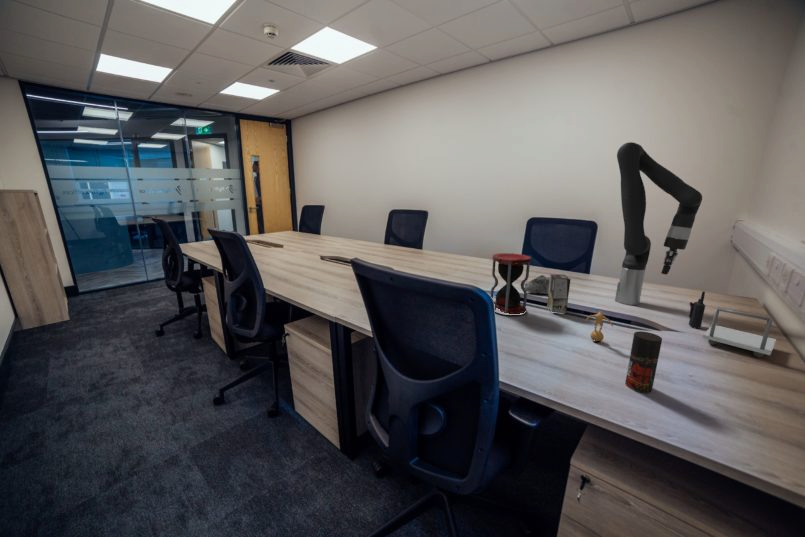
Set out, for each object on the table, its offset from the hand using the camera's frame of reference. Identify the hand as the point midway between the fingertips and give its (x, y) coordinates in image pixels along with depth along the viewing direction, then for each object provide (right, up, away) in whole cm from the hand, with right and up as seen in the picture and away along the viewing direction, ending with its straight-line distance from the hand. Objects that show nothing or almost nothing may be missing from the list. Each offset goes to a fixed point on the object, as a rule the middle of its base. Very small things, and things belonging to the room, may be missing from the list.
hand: (664, 273), depth 143 cm
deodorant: (-53, -31, -55) cm, 82 cm away
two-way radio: (-1, -21, -14) cm, 26 cm away
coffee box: (-47, -17, +2) cm, 51 cm away
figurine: (-48, -24, -29) cm, 61 cm away
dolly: (-1, -25, -32) cm, 40 cm away
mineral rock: (-44, -11, +29) cm, 54 cm away
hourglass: (-69, -17, +3) cm, 72 cm away
